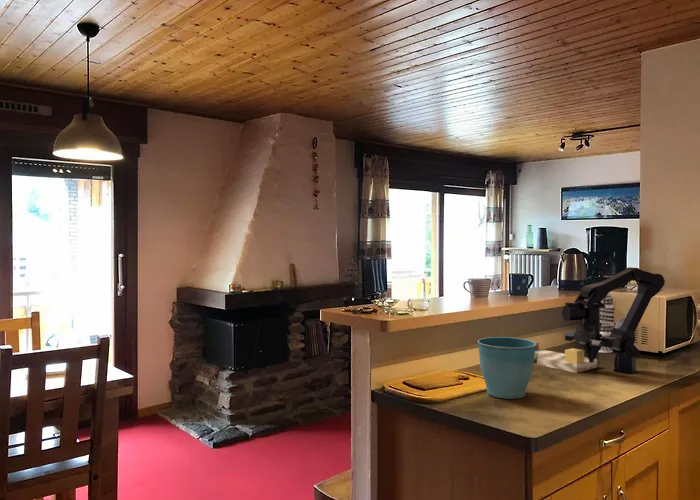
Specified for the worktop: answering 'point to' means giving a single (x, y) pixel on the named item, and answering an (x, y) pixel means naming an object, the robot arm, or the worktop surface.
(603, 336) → the decorative candle
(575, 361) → the ochre block
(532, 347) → the flower pot
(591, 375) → the worktop surface
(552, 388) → the worktop surface
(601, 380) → the worktop surface
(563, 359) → the board
